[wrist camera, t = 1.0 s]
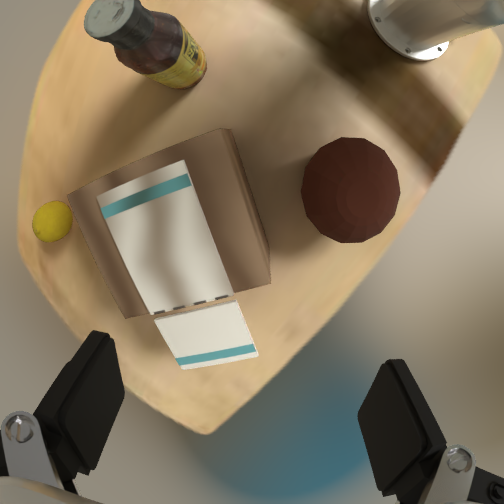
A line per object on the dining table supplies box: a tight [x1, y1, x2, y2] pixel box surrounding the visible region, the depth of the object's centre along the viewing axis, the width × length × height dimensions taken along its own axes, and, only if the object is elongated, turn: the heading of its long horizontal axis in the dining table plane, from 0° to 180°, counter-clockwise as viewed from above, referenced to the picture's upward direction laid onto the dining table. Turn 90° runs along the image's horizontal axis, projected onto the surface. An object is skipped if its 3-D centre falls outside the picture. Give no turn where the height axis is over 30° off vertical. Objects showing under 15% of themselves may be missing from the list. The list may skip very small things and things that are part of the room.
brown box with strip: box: [67, 129, 271, 319], centre depth 34 cm, size 18×16×11 cm
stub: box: [154, 299, 258, 370], centre depth 34 cm, size 10×8×1 cm
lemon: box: [32, 201, 73, 242], centre depth 35 cm, size 6×6×8 cm
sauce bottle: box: [84, 0, 207, 89], centre depth 22 cm, size 6×6×20 cm
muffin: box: [301, 137, 400, 243], centre depth 32 cm, size 12×11×10 cm
